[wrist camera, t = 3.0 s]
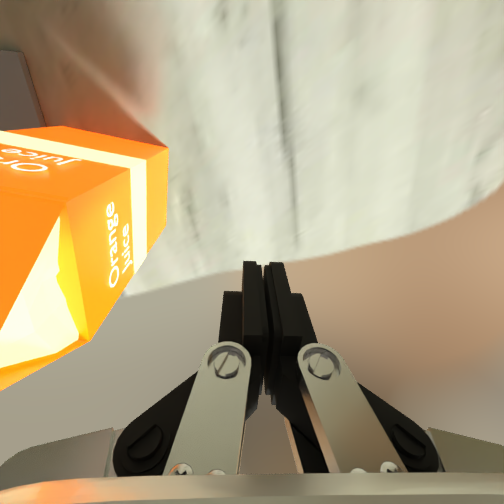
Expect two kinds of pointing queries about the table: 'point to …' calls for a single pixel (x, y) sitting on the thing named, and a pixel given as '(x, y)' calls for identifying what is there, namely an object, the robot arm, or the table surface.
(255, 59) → the table surface
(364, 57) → the table surface
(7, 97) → the mat
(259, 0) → the table surface
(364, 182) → the table surface
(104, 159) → the orange juice
